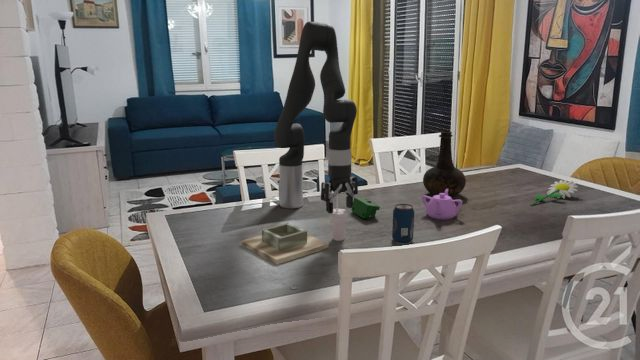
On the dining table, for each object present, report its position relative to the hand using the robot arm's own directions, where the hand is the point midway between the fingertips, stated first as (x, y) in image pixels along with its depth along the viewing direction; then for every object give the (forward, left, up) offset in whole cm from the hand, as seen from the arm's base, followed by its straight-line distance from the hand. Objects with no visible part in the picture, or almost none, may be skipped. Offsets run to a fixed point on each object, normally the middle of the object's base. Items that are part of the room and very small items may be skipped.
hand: (339, 210), depth 167 cm
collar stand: (-6, -18, -10) cm, 22 cm away
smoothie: (0, 0, -10) cm, 10 cm away
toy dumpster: (-12, +25, -10) cm, 29 cm away
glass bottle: (-10, +70, -10) cm, 71 cm away
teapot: (+7, +46, -10) cm, 47 cm away
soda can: (+15, +15, -10) cm, 23 cm away
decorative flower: (+23, +99, -11) cm, 102 cm away
